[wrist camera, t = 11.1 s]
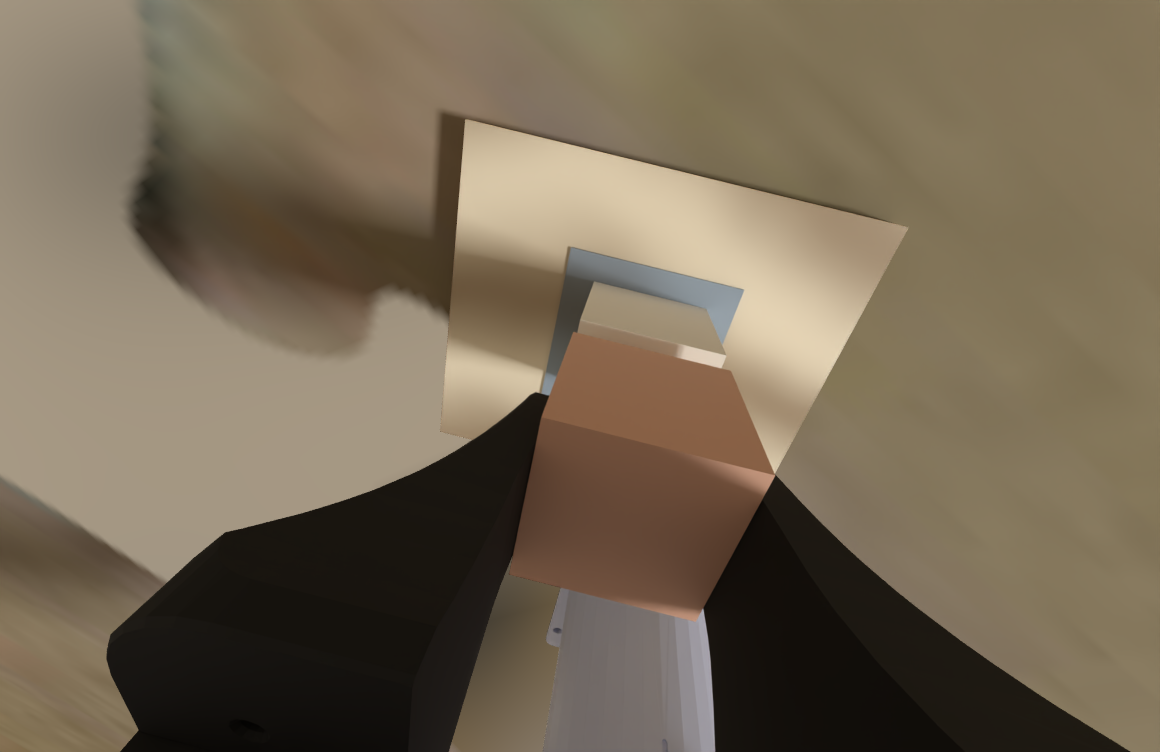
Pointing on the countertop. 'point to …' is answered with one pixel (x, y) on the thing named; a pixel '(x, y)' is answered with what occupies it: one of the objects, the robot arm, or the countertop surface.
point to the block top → (639, 479)
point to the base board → (644, 274)
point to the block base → (651, 324)
